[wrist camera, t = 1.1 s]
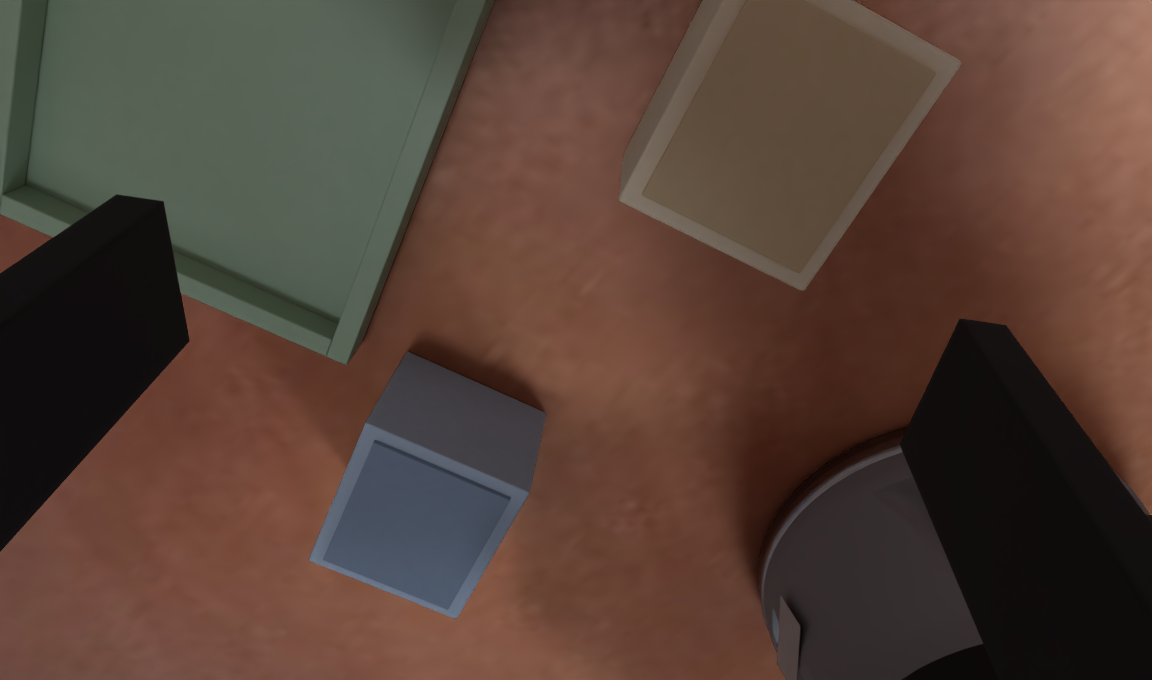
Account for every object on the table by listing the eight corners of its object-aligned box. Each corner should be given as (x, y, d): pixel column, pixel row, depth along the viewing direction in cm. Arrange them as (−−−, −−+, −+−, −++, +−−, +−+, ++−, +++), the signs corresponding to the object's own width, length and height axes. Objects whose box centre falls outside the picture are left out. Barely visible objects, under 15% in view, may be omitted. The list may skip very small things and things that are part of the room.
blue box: (546, 412, 31) (529, 496, 26) (481, 530, 34) (455, 623, 29) (406, 350, 30) (363, 425, 25) (353, 477, 33) (306, 564, 28)
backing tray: (562, -175, 21) (556, -183, 20) (361, 344, 30) (346, 366, 28) (83, -445, 20) (36, -476, 18) (11, 189, 28) (-25, 204, 26)
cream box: (904, 38, 23) (967, 63, 19) (777, 233, 26) (805, 296, 22) (731, -58, 22) (753, -56, 18) (622, 155, 26) (616, 203, 21)
